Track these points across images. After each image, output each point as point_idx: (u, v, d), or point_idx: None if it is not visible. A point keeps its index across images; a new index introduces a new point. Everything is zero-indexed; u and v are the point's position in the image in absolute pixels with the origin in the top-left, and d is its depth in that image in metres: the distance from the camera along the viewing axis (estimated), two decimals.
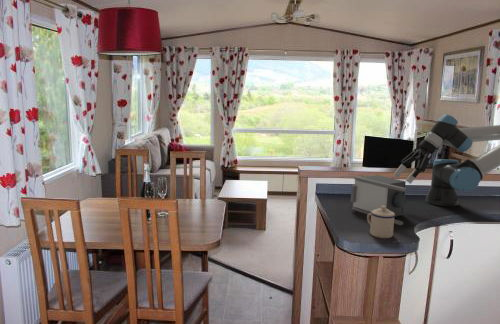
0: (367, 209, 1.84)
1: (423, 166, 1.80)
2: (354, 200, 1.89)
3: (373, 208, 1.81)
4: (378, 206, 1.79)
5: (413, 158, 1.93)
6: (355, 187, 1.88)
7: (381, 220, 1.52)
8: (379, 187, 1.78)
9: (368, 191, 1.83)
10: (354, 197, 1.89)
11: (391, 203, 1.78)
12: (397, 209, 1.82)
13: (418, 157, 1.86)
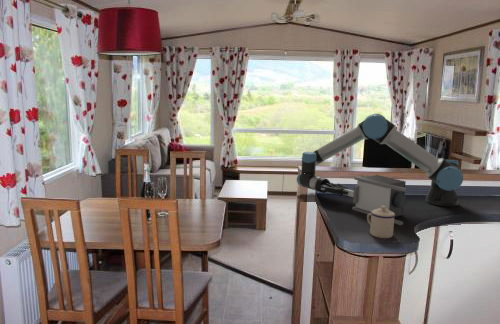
0: (370, 210, 1.83)
1: (334, 191, 1.94)
2: (356, 201, 1.88)
3: None
4: None
5: None
6: (357, 188, 1.87)
7: (381, 220, 1.52)
8: (382, 188, 1.77)
9: (371, 192, 1.82)
10: (356, 198, 1.88)
11: (391, 203, 1.78)
12: (397, 209, 1.82)
13: None
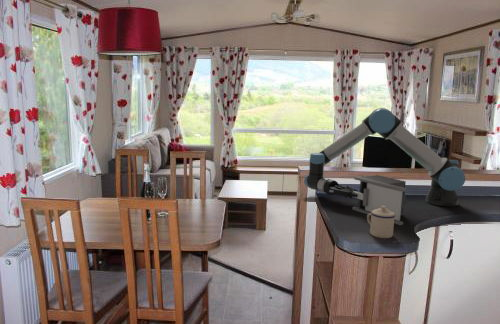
0: None
1: (343, 194, 1.90)
2: (366, 204, 1.83)
3: None
4: (392, 210, 1.73)
5: None
6: (367, 190, 1.82)
7: (381, 220, 1.52)
8: (393, 191, 1.72)
9: (381, 195, 1.77)
10: (366, 201, 1.83)
11: None
12: None
13: None
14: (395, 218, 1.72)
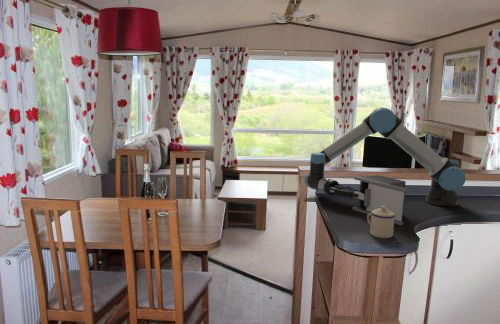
0: None
1: (344, 194, 1.89)
2: (368, 204, 1.83)
3: None
4: (393, 211, 1.72)
5: None
6: (369, 191, 1.82)
7: (381, 220, 1.52)
8: (395, 191, 1.71)
9: (383, 195, 1.76)
10: (368, 201, 1.82)
11: None
12: None
13: None
14: (397, 219, 1.71)
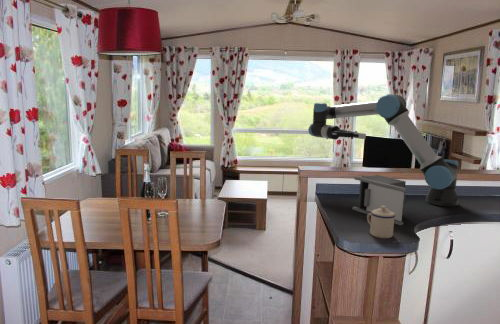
0: None
1: (345, 135, 2.06)
2: (368, 204, 1.83)
3: None
4: (393, 211, 1.72)
5: None
6: (369, 191, 1.82)
7: (381, 220, 1.52)
8: (395, 191, 1.71)
9: (383, 195, 1.76)
10: (368, 201, 1.82)
11: None
12: None
13: None
14: (397, 219, 1.71)
